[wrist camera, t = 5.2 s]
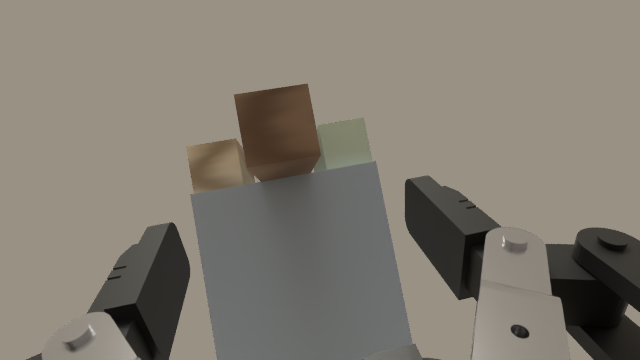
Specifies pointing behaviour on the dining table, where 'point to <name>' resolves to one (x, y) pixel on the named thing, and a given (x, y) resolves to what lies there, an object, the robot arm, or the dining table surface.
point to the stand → (301, 268)
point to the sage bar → (342, 144)
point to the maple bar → (218, 166)
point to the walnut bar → (278, 132)
